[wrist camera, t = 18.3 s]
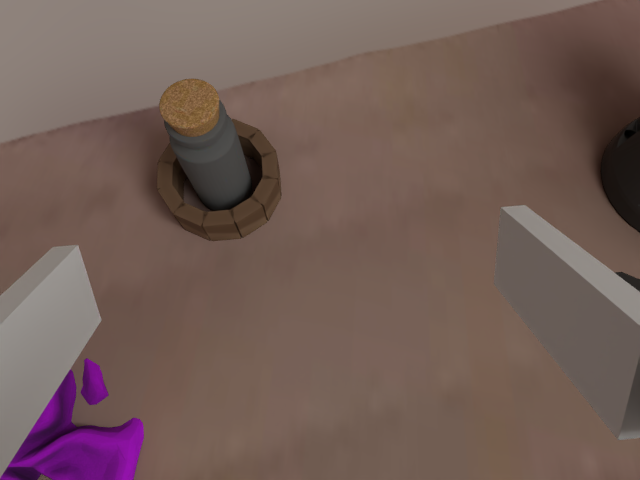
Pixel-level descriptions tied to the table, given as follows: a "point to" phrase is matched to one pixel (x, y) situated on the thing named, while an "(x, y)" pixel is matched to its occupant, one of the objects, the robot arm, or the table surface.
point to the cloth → (77, 439)
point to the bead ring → (241, 216)
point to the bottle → (206, 144)
